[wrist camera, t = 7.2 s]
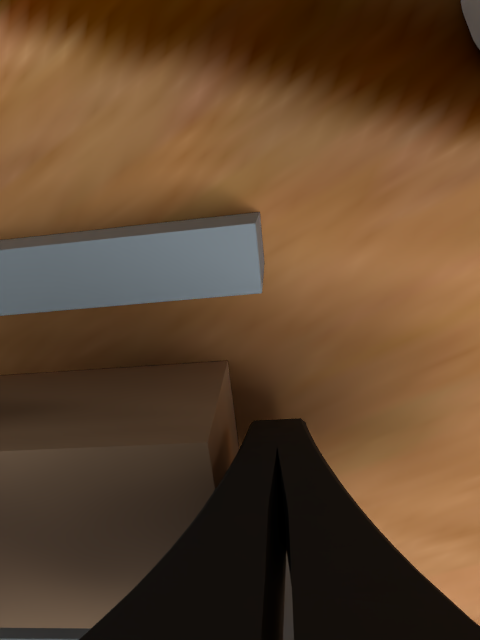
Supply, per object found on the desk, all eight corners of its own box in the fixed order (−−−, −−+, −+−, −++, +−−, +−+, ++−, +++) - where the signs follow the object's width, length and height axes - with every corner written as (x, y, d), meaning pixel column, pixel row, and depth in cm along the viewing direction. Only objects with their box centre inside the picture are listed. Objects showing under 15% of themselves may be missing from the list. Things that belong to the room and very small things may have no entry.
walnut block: (246, 507, 12) (237, 629, 9) (6, 513, 13) (-85, 626, 10) (227, 360, 10) (207, 442, 7) (-46, 378, 11) (-177, 458, 8)
